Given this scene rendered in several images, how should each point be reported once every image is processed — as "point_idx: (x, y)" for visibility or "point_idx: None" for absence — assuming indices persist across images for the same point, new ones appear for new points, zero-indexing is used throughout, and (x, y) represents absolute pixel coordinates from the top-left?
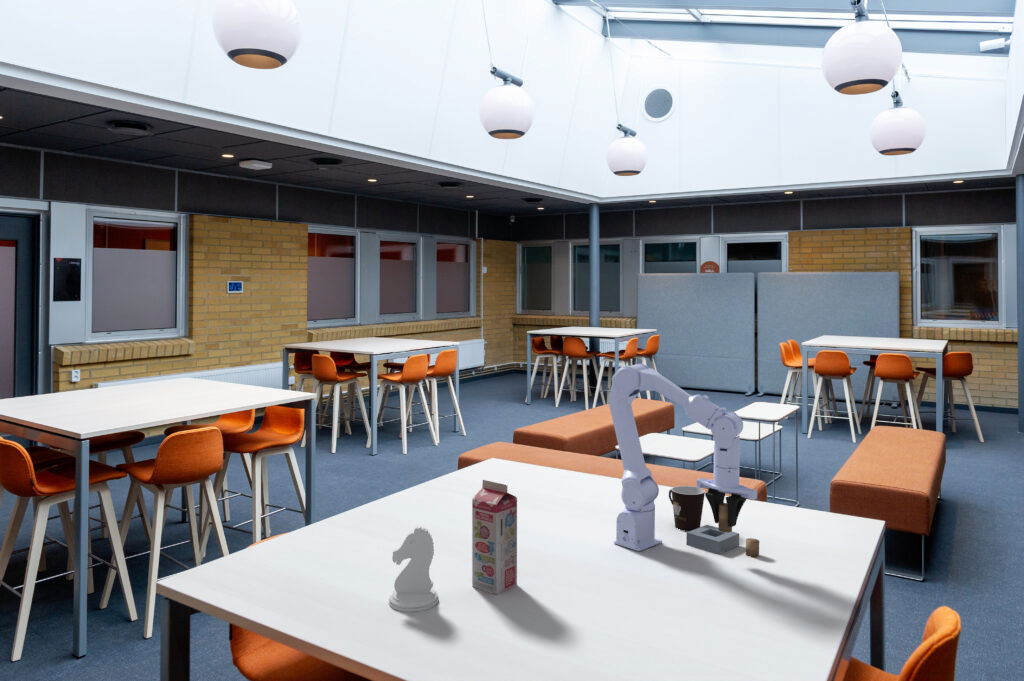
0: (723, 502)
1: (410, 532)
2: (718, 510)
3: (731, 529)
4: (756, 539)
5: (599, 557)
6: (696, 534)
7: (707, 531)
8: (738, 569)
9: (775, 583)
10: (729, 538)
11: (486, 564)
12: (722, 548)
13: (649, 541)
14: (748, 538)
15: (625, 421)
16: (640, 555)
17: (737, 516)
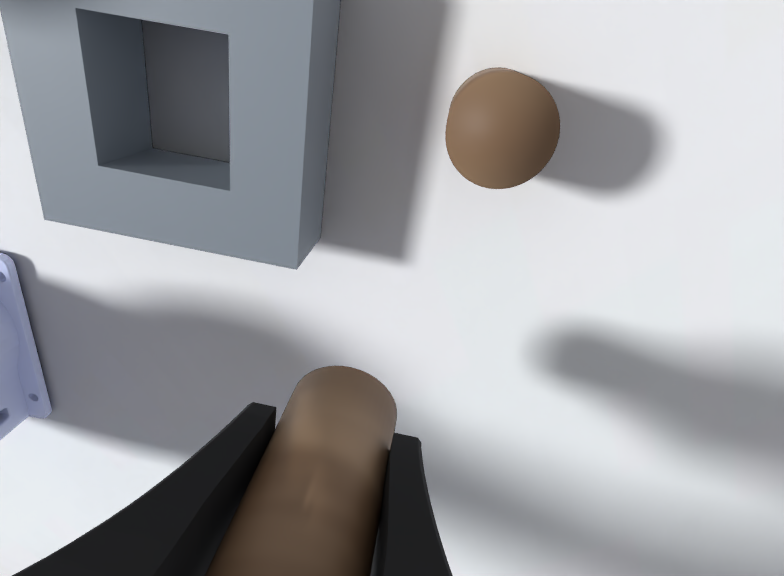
0: (168, 551)
1: None
2: (217, 548)
3: (394, 425)
4: (525, 83)
5: (24, 510)
6: (110, 219)
7: (91, 50)
8: (490, 380)
9: (693, 446)
10: (308, 129)
11: None
12: (315, 208)
13: (5, 355)
14: (456, 103)
15: None
16: (88, 436)
17: (428, 512)
